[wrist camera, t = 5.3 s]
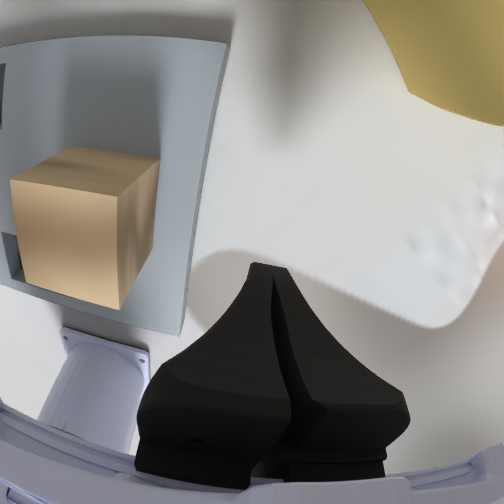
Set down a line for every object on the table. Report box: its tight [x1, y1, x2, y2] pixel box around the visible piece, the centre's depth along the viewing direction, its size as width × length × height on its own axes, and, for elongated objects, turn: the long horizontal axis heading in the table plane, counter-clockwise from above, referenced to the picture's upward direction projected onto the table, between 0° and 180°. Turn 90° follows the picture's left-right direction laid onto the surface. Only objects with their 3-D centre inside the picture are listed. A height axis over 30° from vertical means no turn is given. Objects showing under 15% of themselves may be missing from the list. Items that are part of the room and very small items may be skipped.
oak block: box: [10, 147, 161, 310], centre depth 13 cm, size 5×5×5 cm
